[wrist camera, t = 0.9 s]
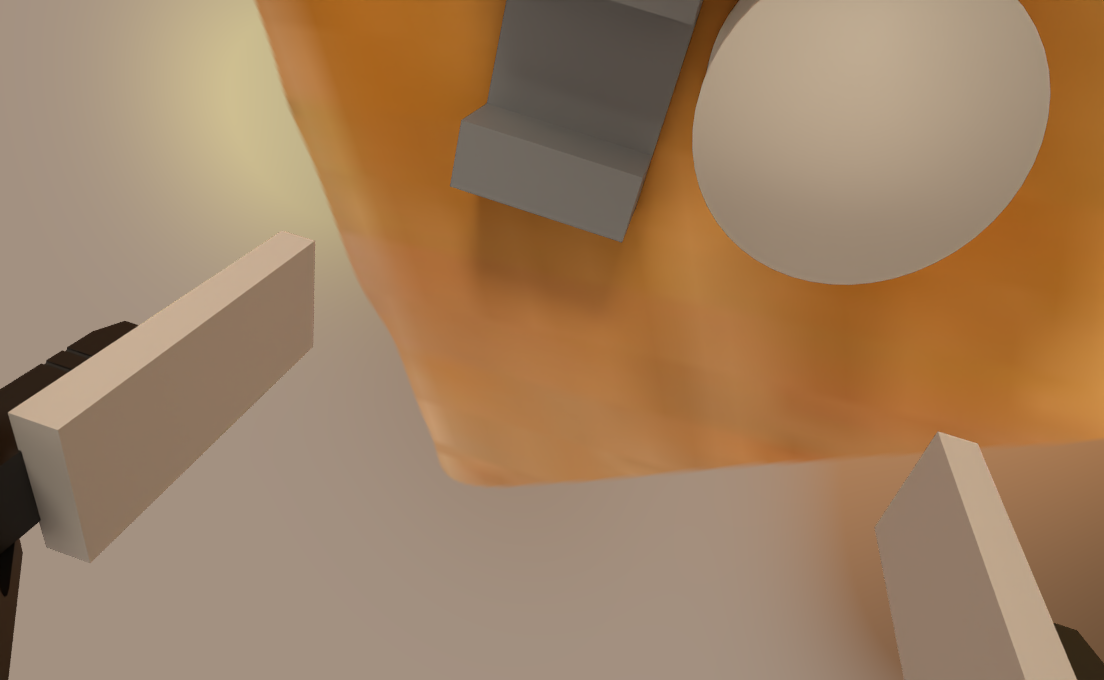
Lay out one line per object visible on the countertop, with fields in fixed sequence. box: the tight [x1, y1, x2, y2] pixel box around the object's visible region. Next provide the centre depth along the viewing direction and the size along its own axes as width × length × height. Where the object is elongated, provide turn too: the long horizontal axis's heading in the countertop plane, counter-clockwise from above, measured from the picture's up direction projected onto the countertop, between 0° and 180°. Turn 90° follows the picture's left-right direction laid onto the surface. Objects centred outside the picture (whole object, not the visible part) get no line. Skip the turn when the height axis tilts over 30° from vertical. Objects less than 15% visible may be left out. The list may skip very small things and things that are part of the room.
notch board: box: [450, 0, 703, 242], centre depth 30 cm, size 12×8×4 cm, turn 166°
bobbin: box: [692, 0, 1050, 285], centre depth 26 cm, size 10×10×10 cm
